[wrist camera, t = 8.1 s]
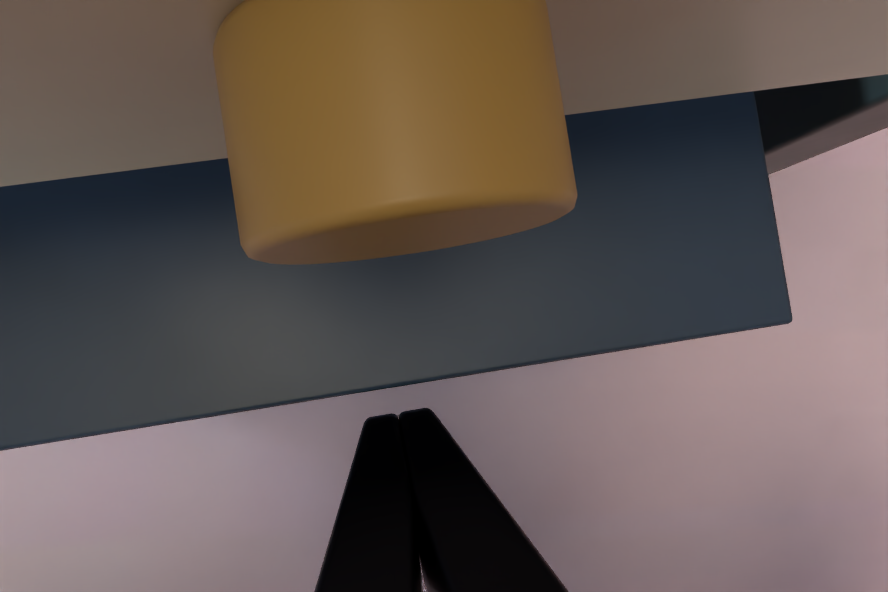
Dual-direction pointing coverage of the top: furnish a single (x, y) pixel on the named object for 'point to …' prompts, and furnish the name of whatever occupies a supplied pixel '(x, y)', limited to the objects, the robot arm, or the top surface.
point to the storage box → (374, 282)
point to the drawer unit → (409, 100)
